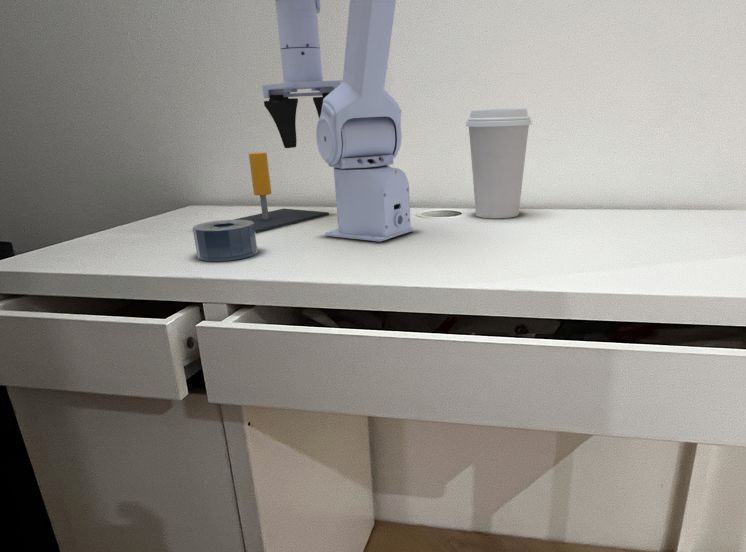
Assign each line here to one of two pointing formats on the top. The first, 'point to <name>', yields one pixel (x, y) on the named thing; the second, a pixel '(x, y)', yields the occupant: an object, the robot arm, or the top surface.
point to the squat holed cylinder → (225, 240)
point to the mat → (282, 218)
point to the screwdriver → (260, 179)
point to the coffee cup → (498, 159)
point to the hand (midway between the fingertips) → (309, 147)
